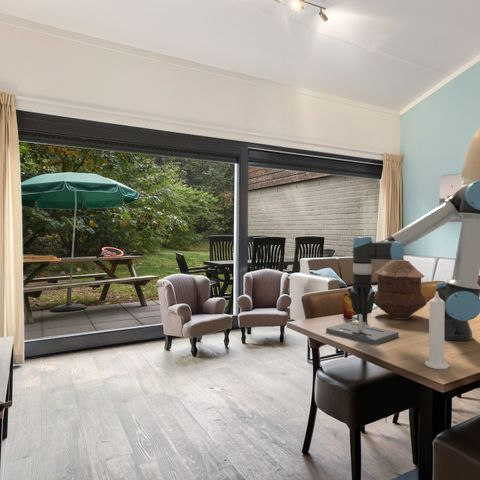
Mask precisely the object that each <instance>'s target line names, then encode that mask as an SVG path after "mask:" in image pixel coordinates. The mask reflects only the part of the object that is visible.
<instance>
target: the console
mask: <svg viewBox="0 0 480 480" xmlns="http://www.w3.org/2000/svg"><path fill="white" fill-rule="evenodd" d="M325 331H326V332H325V333H327V334H331V335H333V336H334V335H335V336H339V337H343V338H346V339H350V340H353V341H357V342H362V343H366V344H370V345H374V346H376V345H378V344H383V343H384V342H388V341H390V340H393V339H396V338H399V331H394V330H390V329H385V328H382V327H375V326H371V325H367V324H365V329H364V330H363V332H360V333H355V332H352V321H348V322H346V323H345V322H344V323H341V324H337V325H332V326H329V327H327V328H326V329H325Z"/></svg>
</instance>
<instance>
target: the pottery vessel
mask: <svg viewBox="0 0 480 480" xmlns="http://www.w3.org/2000/svg"><path fill="white" fill-rule="evenodd" d="M374 274H375V275H377V290H376V291H377V292H378V293H377V295H376V296H375V300H374V304H373V305H375V306H376V307H378V308H379V309H380V310H382V311H383V312H384V313H385V314H387V316H388V317H389V318H391V319H394V318H395V320H407V319H410V317H411V316H412V315H413V314H414V313H416V312H418V311H419V310H420V309H423V308H424V307H425V306H427V299H426V298H425V296H424V295H423V294H422V279H423V278H425V275H424V274H423V273H422V272H420V270H419V269H418V268H416V267H415V266H414V265H413V264H412V263H411V262H410V261H409V260H406V259H405V260H404V259H401V260H388V261H387V262H386V263H385V264H384V265H383V266H381V268H379V269H377V270H376V271H374Z"/></svg>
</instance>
